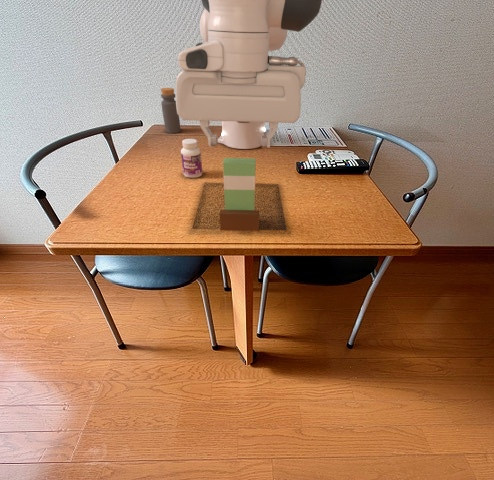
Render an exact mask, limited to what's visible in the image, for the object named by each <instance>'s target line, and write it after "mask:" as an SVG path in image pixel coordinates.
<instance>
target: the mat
mask: <svg viewBox="0 0 494 480" xmlns="http://www.w3.org/2000/svg"><path fill="white" fill-rule="evenodd" d="M219 187H220V189H221V190H218V188H219ZM255 189H257V190H255V200H256V202H255V203H254V210H225V196H224V183H222V182H218V183H217V182H214V183H210V182H204V185H203V188H202V192H201V196H200V202H199V204H198V206H197V210H196V215H195V216H194V217H195V218H194V221H193V225H192V228H191V229H195V230H198V229H199V228H202V230H205V229H206V230H215V231H216V230H217V231H219V230H220V231H254V232H255V231H257V232H258V231H287V225H286V224H287V223H286V220H285V213H284V209H283V203H282V196H281V191H280V186H279V183H261V184H260V186H259V184H258V183H255ZM264 195H265V196H264Z"/></svg>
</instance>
